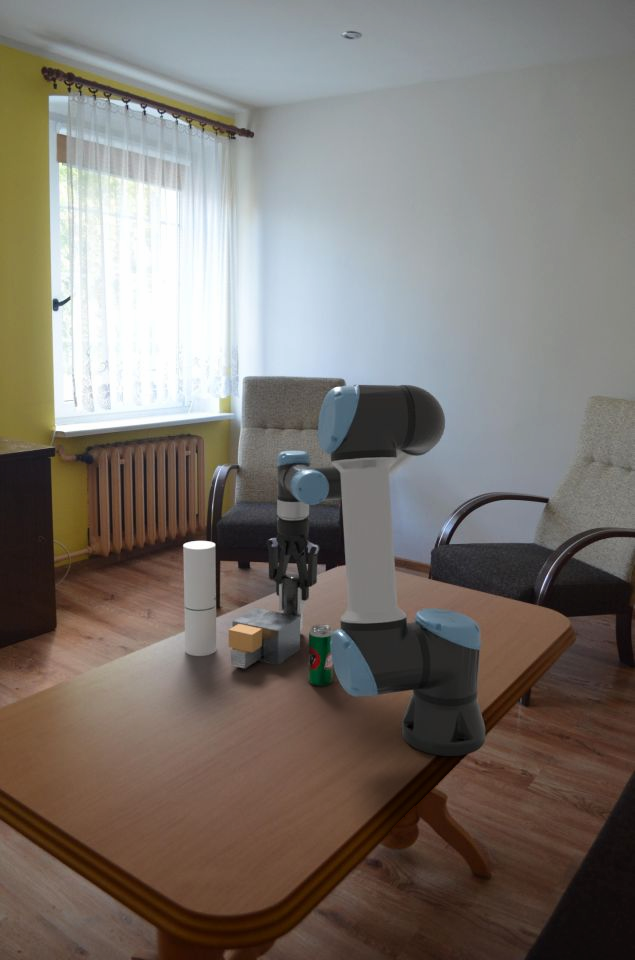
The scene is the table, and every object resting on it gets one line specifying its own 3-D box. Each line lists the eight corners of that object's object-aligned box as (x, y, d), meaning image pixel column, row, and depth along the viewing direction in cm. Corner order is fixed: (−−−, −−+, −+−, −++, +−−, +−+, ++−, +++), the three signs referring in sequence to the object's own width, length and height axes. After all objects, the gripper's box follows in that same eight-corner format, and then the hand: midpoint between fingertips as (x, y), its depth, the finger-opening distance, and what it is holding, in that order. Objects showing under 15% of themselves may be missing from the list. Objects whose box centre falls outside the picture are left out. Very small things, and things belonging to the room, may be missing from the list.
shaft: (246, 669, 172) (246, 608, 169) (229, 664, 174) (229, 605, 171) (304, 629, 195) (305, 575, 192) (288, 626, 197) (289, 573, 194)
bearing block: (278, 665, 176) (278, 630, 175) (232, 654, 182) (232, 621, 180) (299, 649, 185) (300, 616, 184) (255, 639, 191) (255, 607, 189)
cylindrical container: (219, 644, 187) (218, 541, 183) (212, 656, 180) (211, 550, 176) (189, 642, 188) (187, 540, 183) (181, 655, 181) (179, 548, 176)
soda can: (329, 688, 165) (330, 633, 163) (306, 685, 166) (306, 631, 164) (334, 678, 170) (335, 624, 168) (311, 675, 171) (311, 622, 169)
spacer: (252, 652, 172) (252, 634, 171) (228, 646, 174) (228, 629, 174) (261, 646, 175) (261, 628, 174) (238, 640, 178) (238, 623, 177)
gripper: (333, 517, 188) (331, 612, 192) (269, 509, 196) (269, 599, 200) (318, 524, 181) (317, 622, 186) (253, 515, 189) (253, 609, 193)
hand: (292, 610), depth 193 cm, fingers closed on shaft, 4 cm apart
